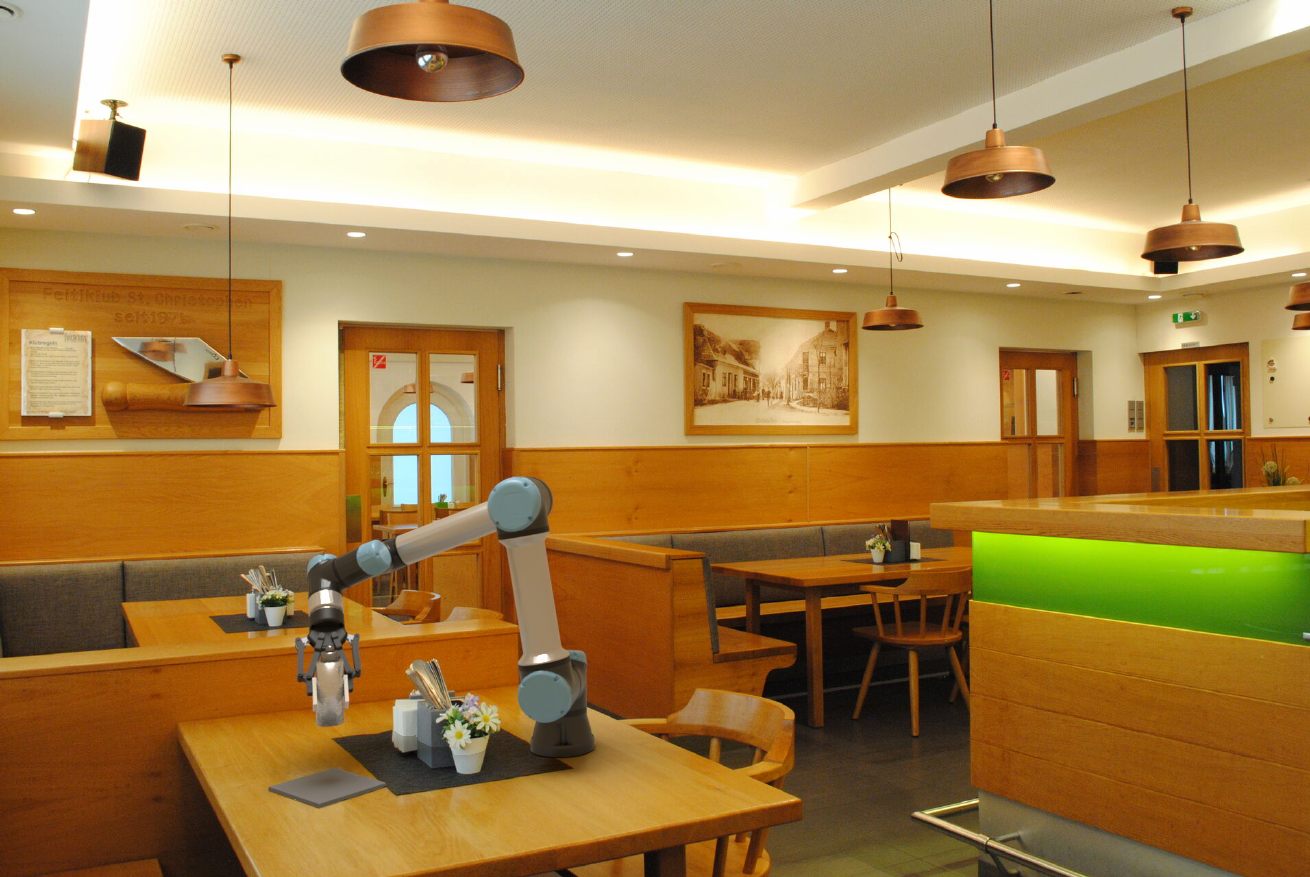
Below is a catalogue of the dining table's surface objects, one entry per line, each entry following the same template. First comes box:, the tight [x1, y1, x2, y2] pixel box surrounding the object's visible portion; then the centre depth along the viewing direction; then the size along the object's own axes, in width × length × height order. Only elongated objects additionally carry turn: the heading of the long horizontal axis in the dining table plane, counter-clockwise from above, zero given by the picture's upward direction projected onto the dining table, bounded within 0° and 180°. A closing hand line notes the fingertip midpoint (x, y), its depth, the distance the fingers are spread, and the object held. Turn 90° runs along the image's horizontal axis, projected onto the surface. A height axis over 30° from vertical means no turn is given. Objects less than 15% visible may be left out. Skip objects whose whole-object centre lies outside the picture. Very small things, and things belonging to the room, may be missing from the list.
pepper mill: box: [315, 645, 345, 728], centre depth 211 cm, size 6×6×16 cm
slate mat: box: [268, 767, 387, 809], centre depth 209 cm, size 18×16×1 cm
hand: (331, 706), depth 208 cm, fingers closed on pepper mill, 6 cm apart
